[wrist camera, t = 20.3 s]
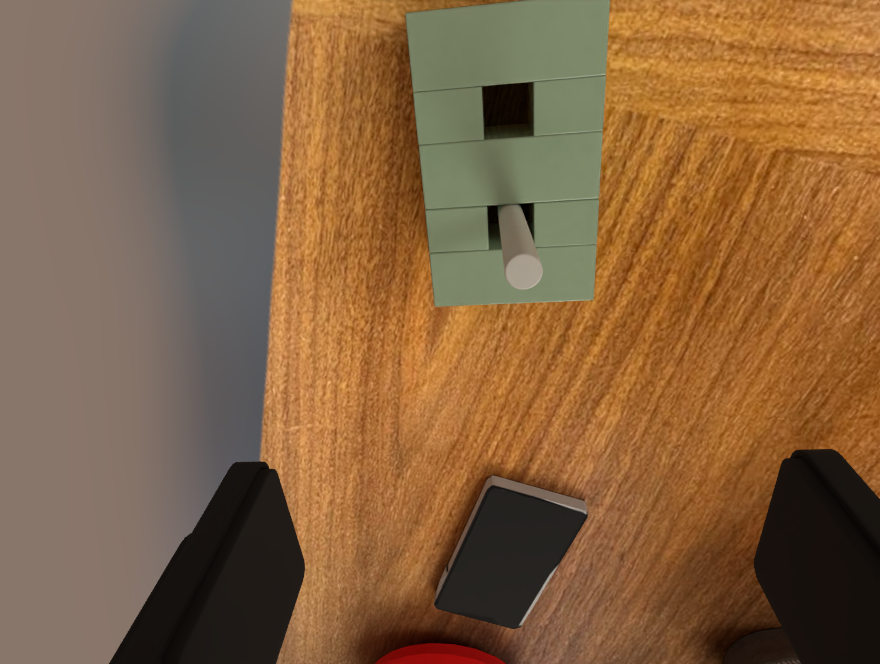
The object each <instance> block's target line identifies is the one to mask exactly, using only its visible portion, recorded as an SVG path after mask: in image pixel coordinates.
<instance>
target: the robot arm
mask: <svg viewBox="0 0 880 664" xmlns="http://www.w3.org/2000/svg"><path fill="white" fill-rule="evenodd" d="M754 568H755V573H756V577H757V579H758V581H759V583H760V585H761V587H762V589H763V591H764V593H765V595H766V597H767V599H768V601H769V603H770V605H771V607H772V609H773V611H774V612H775V614H776V616H777V618H778V620H779V622H780V624H781V626H782V628H783V630H784V632H785V634H786V636H787V638H788V640H789V642H790V644H791V645H792V647H793V649H794V651H795V653H796V655H797V657H798V659H799V661H800V663H801V664H880V499H879V498H878V497H877V496H876V494H875V493H874V492H873V491H872V490H871V489H870V488H869V486H868V485H867V484H866V483H865V482H864V481H863V480H862V478H861V477H860V476H859V475H858V474H857V473H856V472H855V470H854V469H853V468H852V467H851V466H850V465H849V463H848V462H847V461H846V460H845V459H844V458H843V457H842V455H840V454H839V453H838V452H837V451H835V450H833V449H815V450H795V451H794V452H793V453H792V455H791V457H790V458H787V459H784V460H783V461H782V464H781V467H780V470H779V474H778V477H777V481H776V484H775V488H774V491H773V495H772V498H771V502H770V505H769V509H768V513H767V516H766V520H765V523H764V527H763V530H762V534H761V537H760V541H759V544H758V548H757V551H756V555H755V559H754ZM304 573H305V563H304V558H303V555H302V552H301V548H300V545H299V542H298V539H297V535H296V532H295V529H294V525H293V522H292V519H291V516H290V512H289V509H288V506H287V503H286V499H285V496H284V493H283V489H282V486H281V483H280V480H279V476H278V473H277V471H276V470H275V469H269V466H268V464H267V463H266V462H236V463H234V464H233V465H232V466H231V467H230V469H229V470H228V472H227V474H226V475H225V477H224V479H223V480H222V482H221V484H220V486H219V488H218V489H217V491H216V492H215V494H214V496H213V498H212V500H211V501H210V503H209V505H208V506H207V508H206V510H205V511H204V513H203V515H202V517H201V518H200V520H199V522H198V523H197V525H196V527H195V528H194V530H193V532H192V533H191V534H189V535H188V536H187V537H185V538H184V540H183V541H182V542H181V544H180V545H179V547H178V549H177V551H176V552H175V554H174V555H173V557H172V559H171V560H170V562H169V564H168V566H167V567H166V569H165V570H164V572H163V574H162V575H161V577H160V579H159V580H158V582H157V584H156V586H155V587H154V589H153V591H152V592H151V594H150V596H149V597H148V599H147V601H146V602H145V604H144V606H143V607H142V609H141V611H140V613H139V614H138V616H137V617H136V619H135V621H134V623H133V624H132V626H131V628H130V629H129V631H128V633H127V635H126V636H125V638H124V639H123V641H122V643H121V644H120V646H119V648H118V650H117V651H116V653H115V654H114V656H113V658H112V660H111V661H110V663H109V664H276V662H277V659H278V655H279V652H280V649H281V646H282V643H283V640H284V637H285V634H286V631H287V628H288V625H289V622H290V619H291V616H292V613H293V610H294V607H295V603H296V600H297V597H298V594H299V591H300V588H301V585H302V582H303V578H304Z"/></svg>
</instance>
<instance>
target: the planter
mask: <svg viewBox="0 0 880 664" xmlns="http://www.w3.org/2000/svg"><path fill="white" fill-rule="evenodd" d="M723 664H801V663H800V661H799V659H798V657H797V655H796V653H795V651H794V649H793V647H792V645H791V644H790V642H789V640H788V638H787V636H786V634H785V632H784V630H783V628H777V629H768V630H762V631H758V632H755V633H752V634H749V635H747V636H745V637H743V638H741V639H739V640H738V641H736V642H735V643H734V644H732V645H731V646H730V648H729V649H728V650H727V652H726V654H725V657H724V661H723Z"/></svg>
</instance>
